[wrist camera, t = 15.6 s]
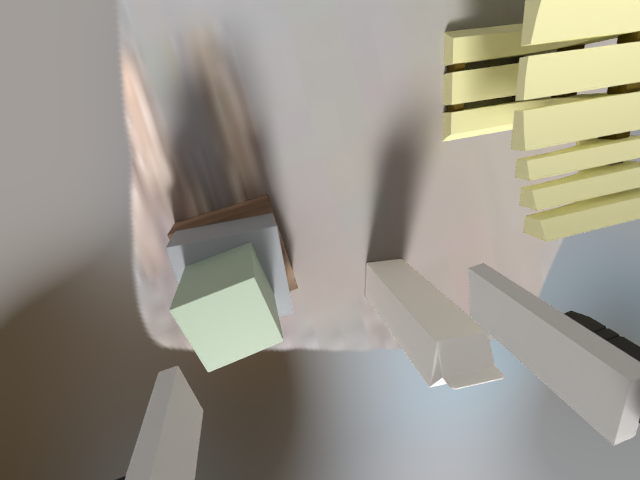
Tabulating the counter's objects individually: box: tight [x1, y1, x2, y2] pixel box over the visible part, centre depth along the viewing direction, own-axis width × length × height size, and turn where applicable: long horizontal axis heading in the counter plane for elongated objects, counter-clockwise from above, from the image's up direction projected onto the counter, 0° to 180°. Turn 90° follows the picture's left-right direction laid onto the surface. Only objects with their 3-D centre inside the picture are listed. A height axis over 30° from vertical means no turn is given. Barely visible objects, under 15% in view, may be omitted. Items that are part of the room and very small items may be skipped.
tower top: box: [166, 213, 294, 317], centre depth 36 cm, size 11×11×5 cm
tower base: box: [168, 195, 298, 291], centre depth 41 cm, size 12×12×5 cm
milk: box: [365, 259, 504, 389], centre depth 40 cm, size 6×6×22 cm
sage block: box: [169, 242, 283, 372], centre depth 30 cm, size 7×7×8 cm
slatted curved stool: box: [443, 0, 640, 242], centre depth 35 cm, size 30×16×18 cm, turn 7°
